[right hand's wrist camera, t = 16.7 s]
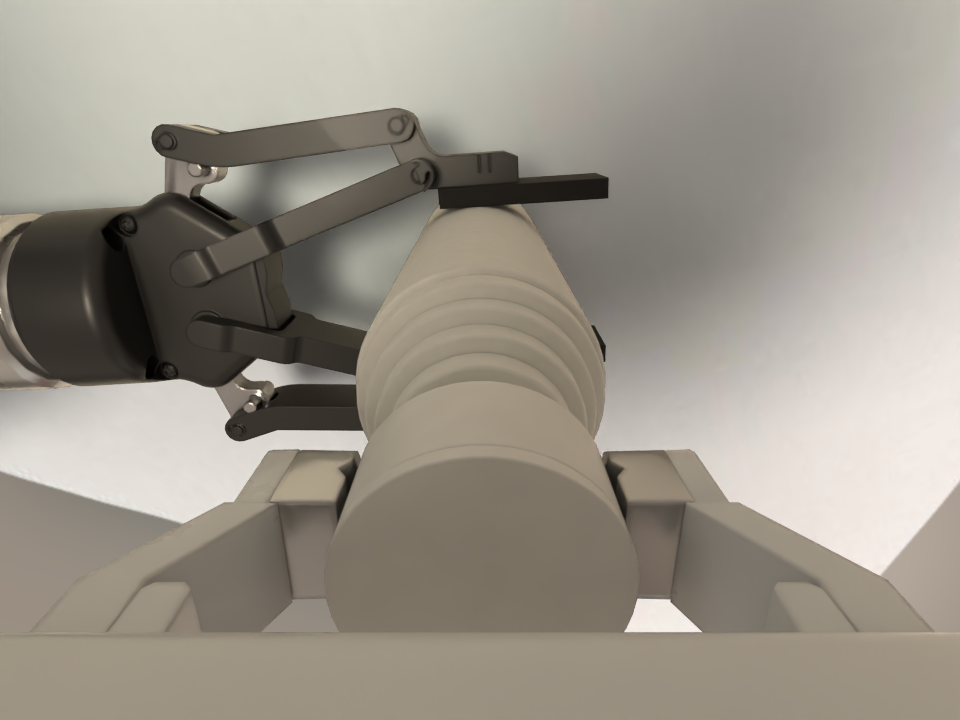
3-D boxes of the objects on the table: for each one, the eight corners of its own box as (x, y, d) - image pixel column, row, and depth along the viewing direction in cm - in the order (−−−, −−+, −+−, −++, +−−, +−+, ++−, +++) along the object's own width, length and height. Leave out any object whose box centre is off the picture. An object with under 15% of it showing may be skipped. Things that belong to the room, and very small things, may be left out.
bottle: (557, 223, 30) (782, 499, 8) (500, 318, 32) (550, 758, 10) (457, 164, 29) (381, 290, 7) (404, 267, 31) (210, 629, 9)
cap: (441, 330, 9) (428, 395, 7) (657, 461, 10) (707, 556, 8) (313, 522, 10) (270, 627, 8) (513, 622, 11) (521, 741, 9)
